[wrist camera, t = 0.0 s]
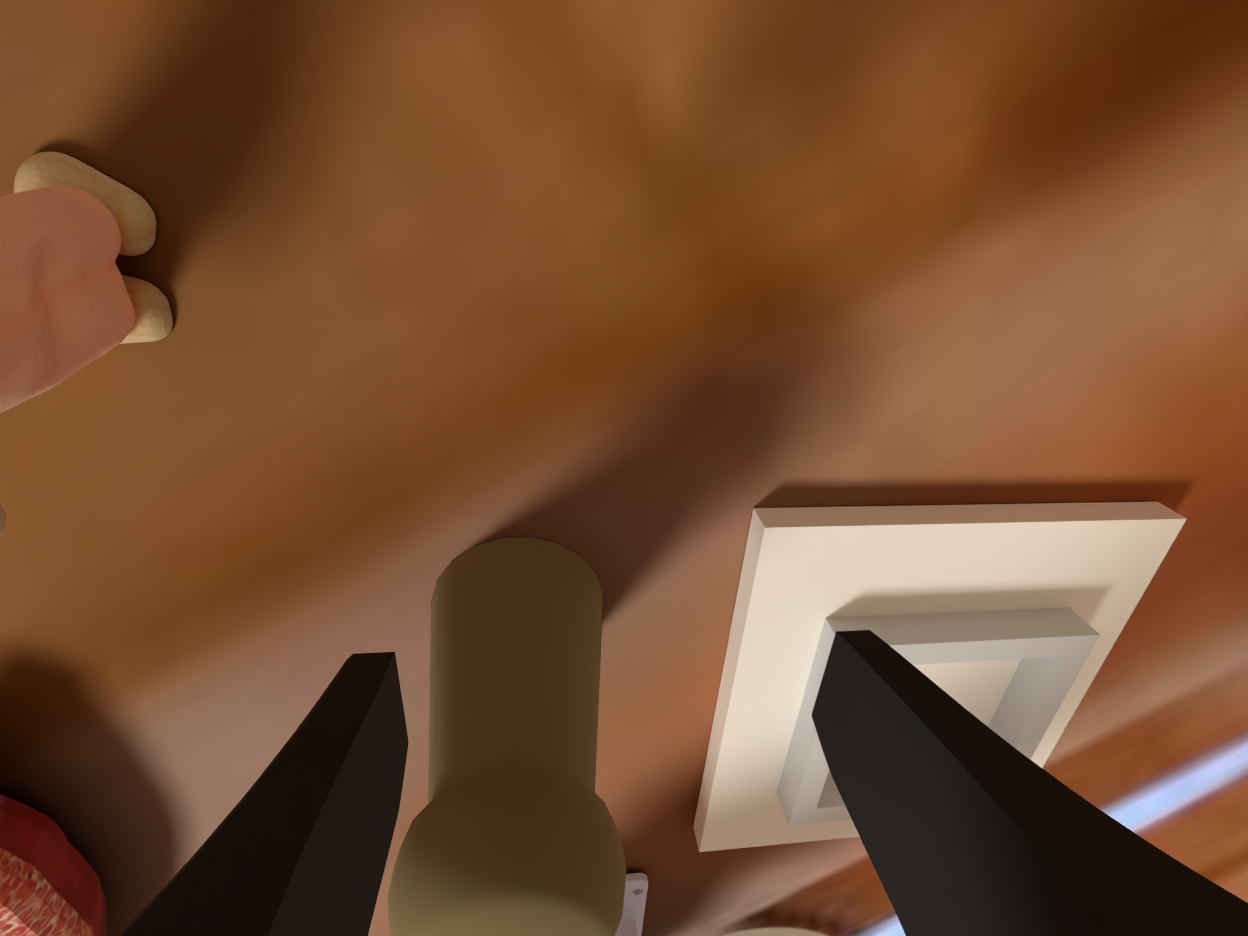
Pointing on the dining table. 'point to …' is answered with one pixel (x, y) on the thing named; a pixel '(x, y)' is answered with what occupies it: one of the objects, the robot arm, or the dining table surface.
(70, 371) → the grandmother figurine
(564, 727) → the cork
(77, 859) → the dish
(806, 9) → the dining table surface
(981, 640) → the holder board
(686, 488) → the dining table surface
